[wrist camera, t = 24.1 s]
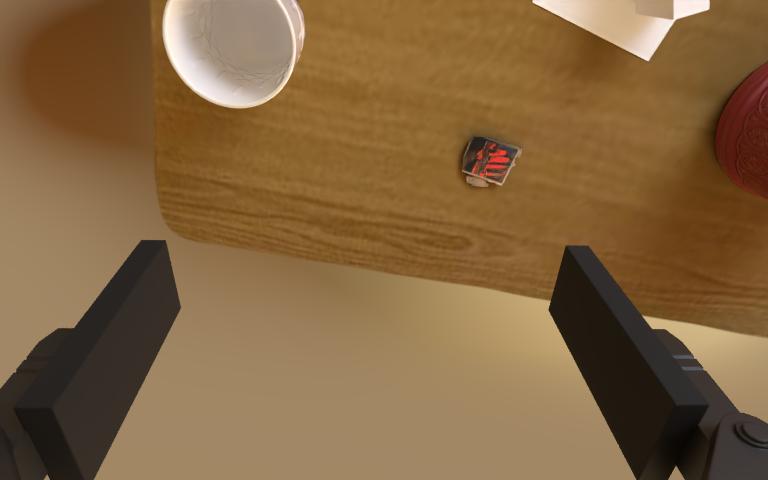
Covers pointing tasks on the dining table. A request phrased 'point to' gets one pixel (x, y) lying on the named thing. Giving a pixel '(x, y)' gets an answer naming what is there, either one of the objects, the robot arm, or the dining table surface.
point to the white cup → (234, 47)
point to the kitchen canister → (746, 135)
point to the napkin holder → (626, 19)
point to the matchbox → (488, 161)
